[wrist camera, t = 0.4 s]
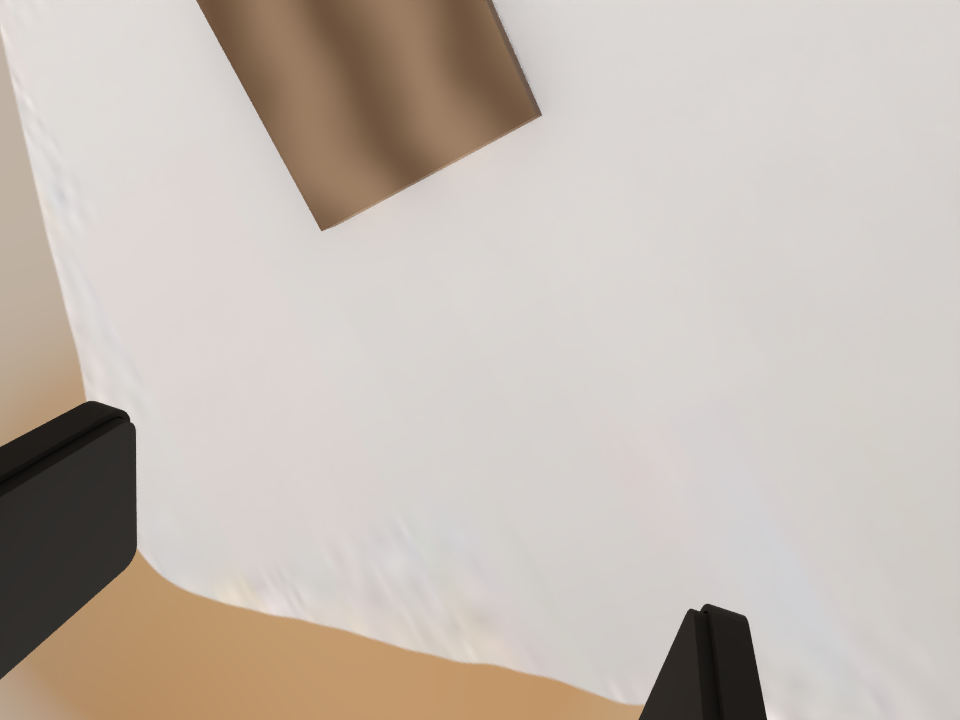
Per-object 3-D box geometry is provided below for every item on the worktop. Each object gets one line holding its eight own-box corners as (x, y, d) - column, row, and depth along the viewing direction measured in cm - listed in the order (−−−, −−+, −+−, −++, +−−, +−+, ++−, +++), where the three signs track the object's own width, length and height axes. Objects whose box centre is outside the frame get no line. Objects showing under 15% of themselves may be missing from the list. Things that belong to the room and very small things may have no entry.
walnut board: (421, -158, 32) (407, -174, 30) (541, 115, 35) (536, 116, 33) (214, -2, 37) (192, -7, 35) (336, 225, 40) (321, 231, 38)
